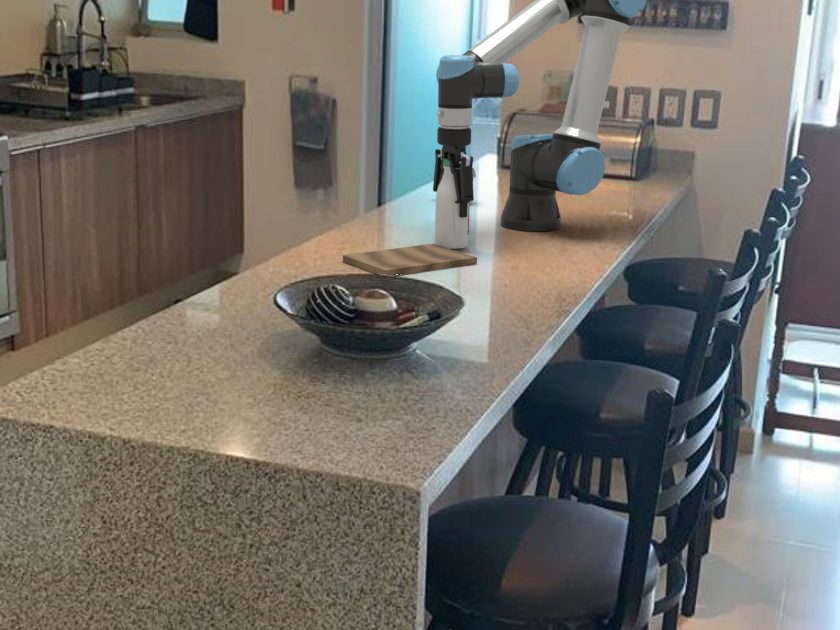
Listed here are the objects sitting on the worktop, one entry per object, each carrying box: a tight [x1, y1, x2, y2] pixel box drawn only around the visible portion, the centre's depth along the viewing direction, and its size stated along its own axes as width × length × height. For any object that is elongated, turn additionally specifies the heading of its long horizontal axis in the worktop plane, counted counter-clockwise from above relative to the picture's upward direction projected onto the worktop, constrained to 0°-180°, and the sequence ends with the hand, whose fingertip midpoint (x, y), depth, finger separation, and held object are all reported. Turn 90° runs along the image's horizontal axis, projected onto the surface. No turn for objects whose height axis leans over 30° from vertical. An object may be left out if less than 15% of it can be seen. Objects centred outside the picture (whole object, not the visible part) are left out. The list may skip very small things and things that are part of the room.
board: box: [342, 243, 478, 276], centre depth 250 cm, size 24×16×2 cm, turn 126°
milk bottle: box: [434, 158, 471, 250], centre depth 262 cm, size 8×8×20 cm
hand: (452, 227), depth 264 cm, fingers closed on milk bottle, 8 cm apart
